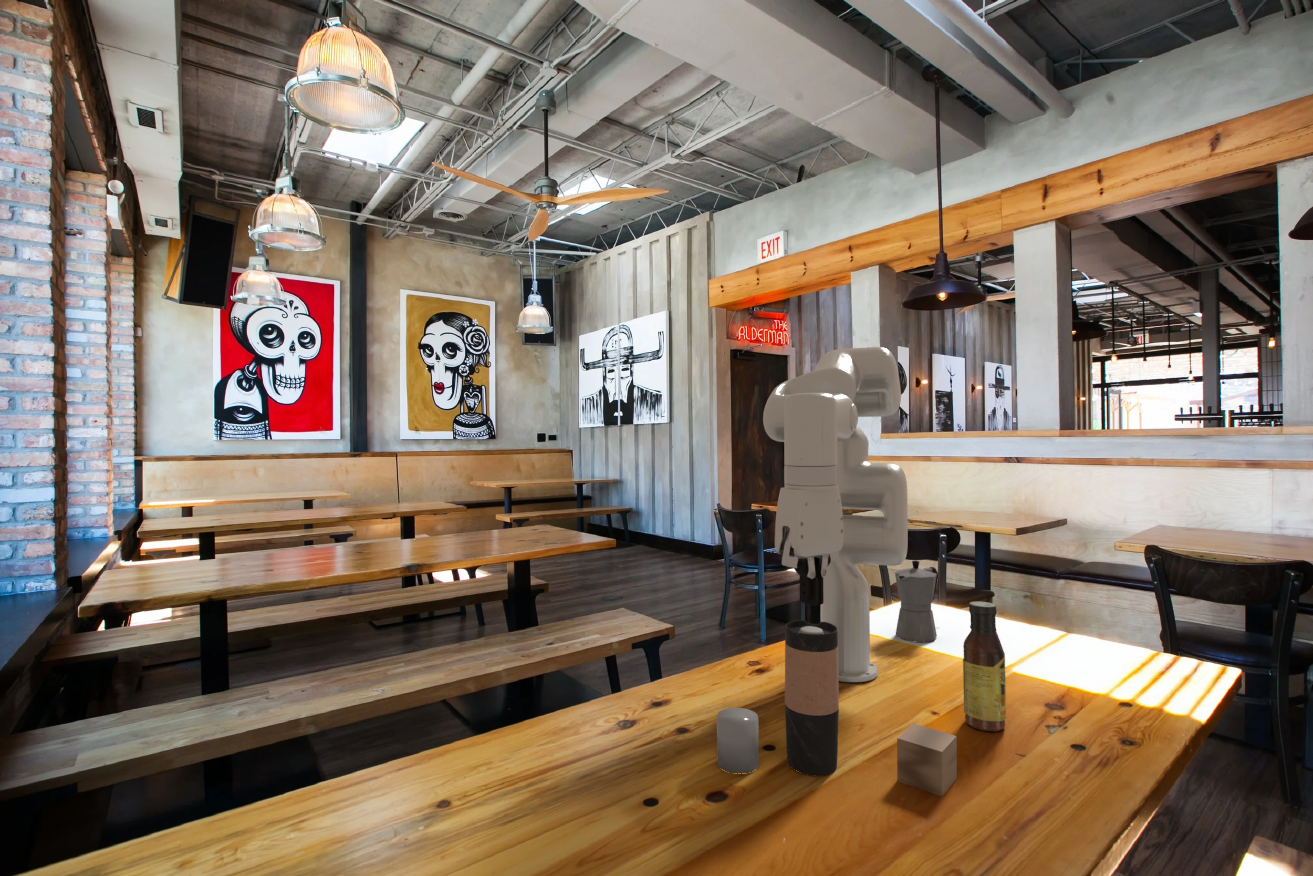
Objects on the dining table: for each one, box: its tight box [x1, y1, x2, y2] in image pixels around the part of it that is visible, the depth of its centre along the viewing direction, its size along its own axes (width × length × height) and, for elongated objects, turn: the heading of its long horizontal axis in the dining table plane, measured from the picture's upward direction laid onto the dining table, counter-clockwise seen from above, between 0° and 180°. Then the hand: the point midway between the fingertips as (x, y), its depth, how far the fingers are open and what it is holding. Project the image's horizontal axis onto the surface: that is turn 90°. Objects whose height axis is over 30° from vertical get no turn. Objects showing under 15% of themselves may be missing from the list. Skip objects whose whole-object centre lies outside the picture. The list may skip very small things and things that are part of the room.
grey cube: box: [896, 723, 958, 797], centre depth 91 cm, size 6×6×6 cm
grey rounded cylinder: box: [716, 707, 759, 774], centre depth 95 cm, size 6×6×7 cm
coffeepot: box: [894, 560, 939, 643], centre depth 155 cm, size 15×9×18 cm, turn 125°
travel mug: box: [784, 619, 840, 777], centre depth 95 cm, size 8×8×20 cm
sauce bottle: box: [962, 601, 1007, 733], centre depth 107 cm, size 7×6×20 cm
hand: (811, 602), depth 95 cm, fingers closed
